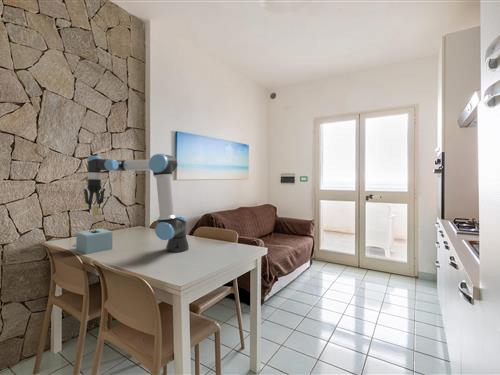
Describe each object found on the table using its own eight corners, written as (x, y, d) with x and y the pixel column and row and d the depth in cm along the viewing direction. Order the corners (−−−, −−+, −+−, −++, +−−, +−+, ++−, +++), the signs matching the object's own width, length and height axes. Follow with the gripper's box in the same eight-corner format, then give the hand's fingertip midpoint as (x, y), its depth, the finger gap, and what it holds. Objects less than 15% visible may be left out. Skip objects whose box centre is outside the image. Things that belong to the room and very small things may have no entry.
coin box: (112, 248, 178) (112, 231, 177) (86, 254, 165) (86, 235, 164) (101, 244, 187) (101, 228, 187) (76, 249, 174) (76, 231, 174)
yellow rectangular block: (98, 214, 175) (98, 205, 175) (93, 215, 172) (93, 206, 172) (94, 213, 178) (94, 204, 178) (89, 214, 176) (89, 205, 176)
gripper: (104, 178, 183) (104, 212, 184) (78, 178, 170) (78, 214, 171) (109, 179, 178) (109, 213, 179) (83, 179, 166) (83, 215, 166)
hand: (94, 213), depth 175 cm, fingers closed on yellow rectangular block, 3 cm apart
